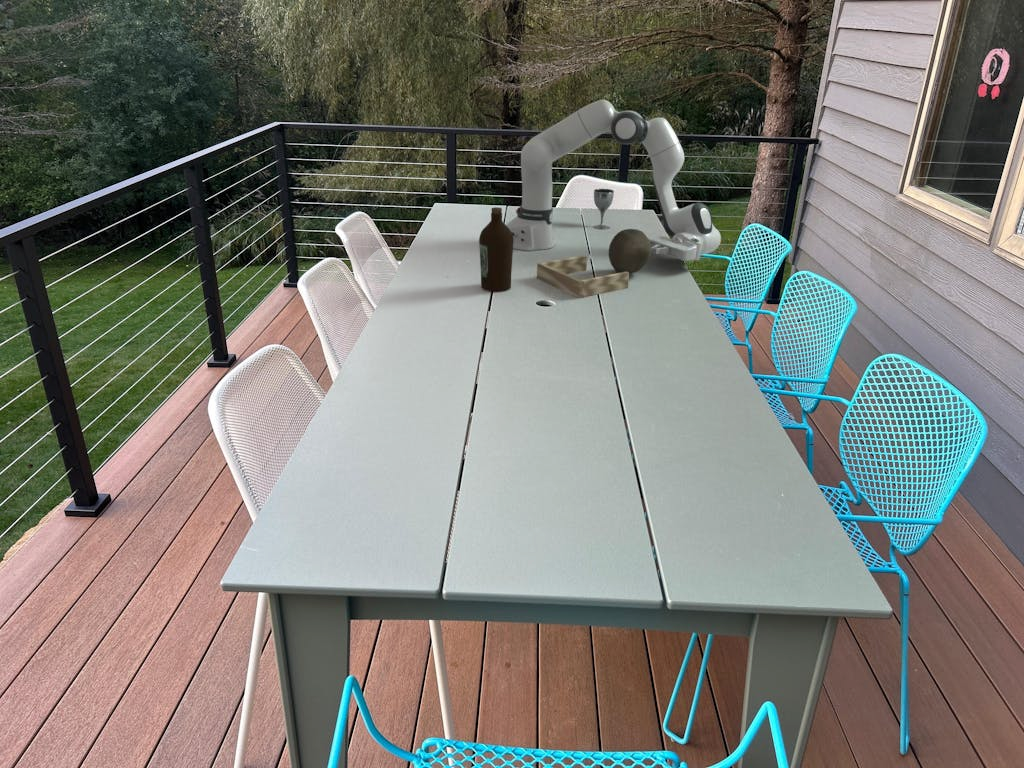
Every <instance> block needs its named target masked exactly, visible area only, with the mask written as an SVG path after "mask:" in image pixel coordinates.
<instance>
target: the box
mask: <svg viewBox="0 0 1024 768" xmlns="http://www.w3.org/2000/svg"><path fill="white" fill-rule="evenodd" d="M587 263H588V256H587V255H583V254H582V255H580V256H572V257H567V258H561V259H555V260H550V261H544V262H539V263H537V265H536V266H537V267H536V279H538V280H540V281H542V282H544V283H546V284H548V285H551V286H553V287H556V288H557V289H560V290H562V291H564V292H566V293H567V294H570V295H572V296H574V295H575V297H576V298H579V299H581V297H582V298H586V297H590V296H595V295H600V294H605V293H606V294H607V293H610V292H615V291H620V290H623V289H628V288H629V280H630V279H629V278H630V274H629V272H621V273H619V272H617V273H616V272H615V273H612V274H606V275H602V276H596V277H591V278H585V279H581V278H580V279H579V278H577V277H575V276H573V275H571V274H575V273H574V272H576V273H580V271H582V272H585V271H587V266H588V265H587ZM570 273H571V274H570Z"/></svg>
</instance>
